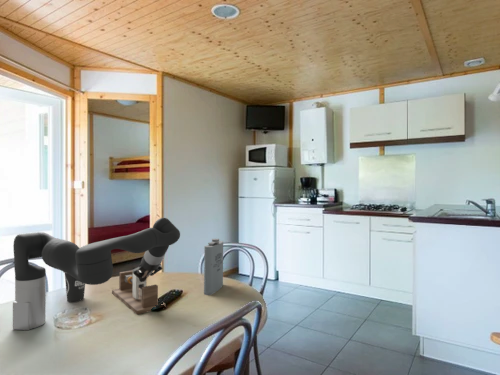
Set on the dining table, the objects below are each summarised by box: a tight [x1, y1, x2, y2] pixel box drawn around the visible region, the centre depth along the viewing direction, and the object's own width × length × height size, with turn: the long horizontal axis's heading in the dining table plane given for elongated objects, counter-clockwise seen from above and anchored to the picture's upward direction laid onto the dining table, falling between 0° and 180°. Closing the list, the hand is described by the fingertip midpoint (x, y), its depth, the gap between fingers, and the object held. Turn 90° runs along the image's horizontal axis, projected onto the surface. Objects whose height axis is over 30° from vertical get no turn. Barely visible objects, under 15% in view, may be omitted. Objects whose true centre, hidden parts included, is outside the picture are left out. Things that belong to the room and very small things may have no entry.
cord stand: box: [111, 269, 166, 315], centre depth 144 cm, size 32×12×10 cm, turn 39°
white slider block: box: [133, 270, 147, 299], centre depth 142 cm, size 4×5×11 cm
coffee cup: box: [63, 272, 86, 303], centre depth 144 cm, size 10×10×15 cm
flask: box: [203, 238, 224, 296], centre depth 160 cm, size 17×5×25 cm, turn 164°
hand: (141, 280), depth 140 cm, fingers closed
